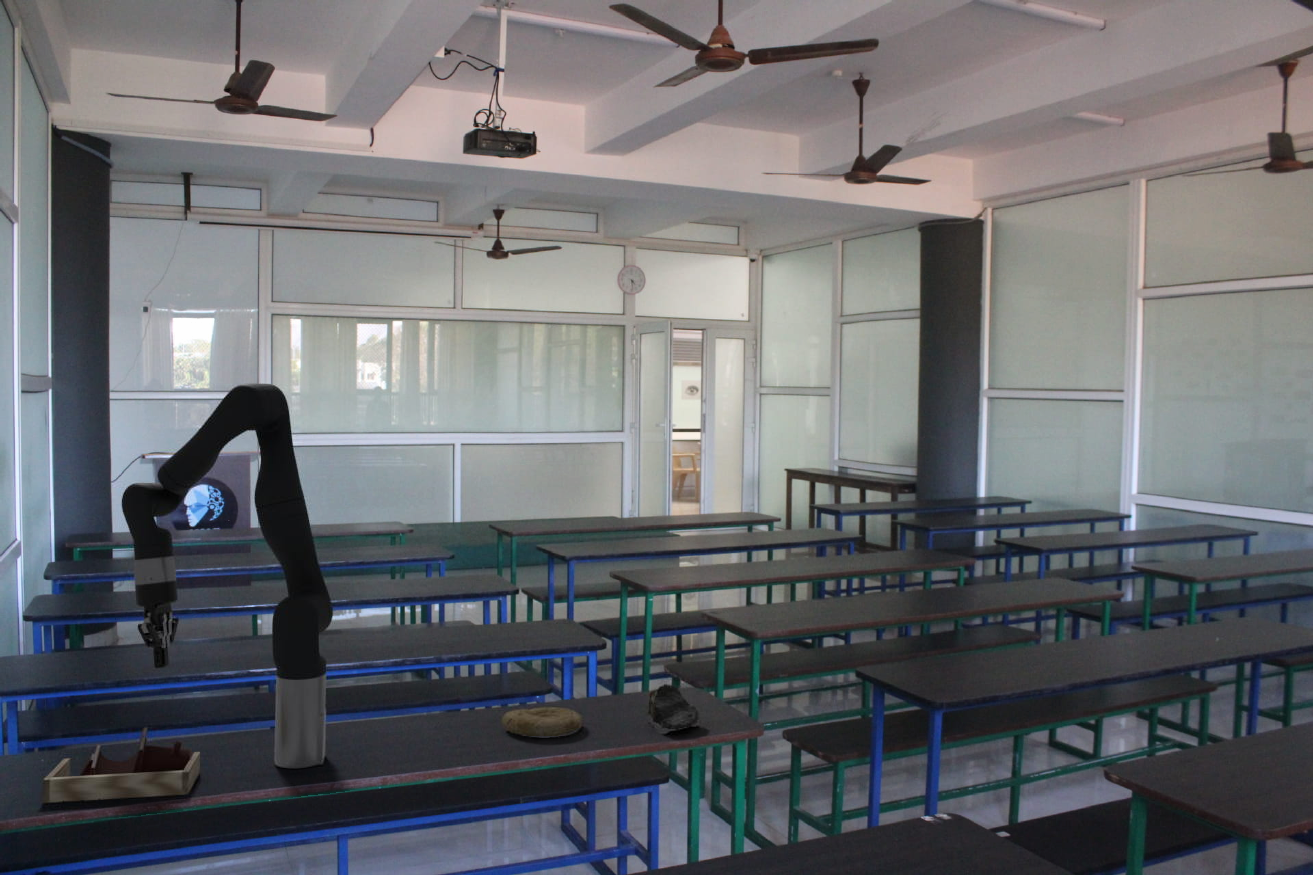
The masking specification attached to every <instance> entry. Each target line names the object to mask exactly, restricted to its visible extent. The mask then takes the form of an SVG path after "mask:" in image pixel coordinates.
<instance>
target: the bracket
mask: <svg viewBox="0 0 1313 875" xmlns="http://www.w3.org/2000/svg"><path fill="white" fill-rule="evenodd" d="M147 733H148V727H143V728H142V731H141V736H140V738H139V743H138V746H137V751H136V752H135V753H134V755H132V756H131V757H129V758H127V759H125V760H111V759H109V758H107V757H106V756H104V755H103V753H102V751H101V747H102V746H101V744H97V746H96V748H95V751H94V753H92V754H91V755H90V756H89V757H88V760H87V761H86V762H85V764H84V765H83V767H82V768H81V771H80V775H79V776H89V775H107V774H126V773H144V772H163V771H181V770H184V768H185V767H186V765H187V763H188V762H189V760H190V758H191V756H192V755H191V753H192V749H190V748H182V744H183V741H177V740H175V741H174V742H173V746H172V747H168V746H157V745H147V742H148V741H147V740H148V738H147Z"/></svg>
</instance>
